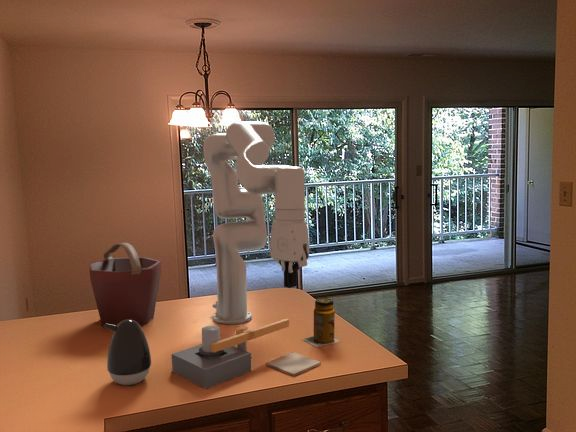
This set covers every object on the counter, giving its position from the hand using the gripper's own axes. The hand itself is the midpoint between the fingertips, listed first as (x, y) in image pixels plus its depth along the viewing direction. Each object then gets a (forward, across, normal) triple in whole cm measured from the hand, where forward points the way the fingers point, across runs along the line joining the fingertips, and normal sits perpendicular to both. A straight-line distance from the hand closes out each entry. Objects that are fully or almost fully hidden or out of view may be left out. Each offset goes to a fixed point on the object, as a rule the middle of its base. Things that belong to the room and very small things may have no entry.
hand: (290, 286), depth 136 cm
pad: (+20, +2, -1) cm, 20 cm away
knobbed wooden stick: (+14, -9, -7) cm, 18 cm away
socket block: (+20, -10, -15) cm, 27 cm away
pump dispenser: (+20, -20, -35) cm, 45 cm away
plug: (+20, -10, -18) cm, 29 cm away
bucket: (+20, -62, -12) cm, 67 cm away
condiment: (+20, -4, +17) cm, 27 cm away
